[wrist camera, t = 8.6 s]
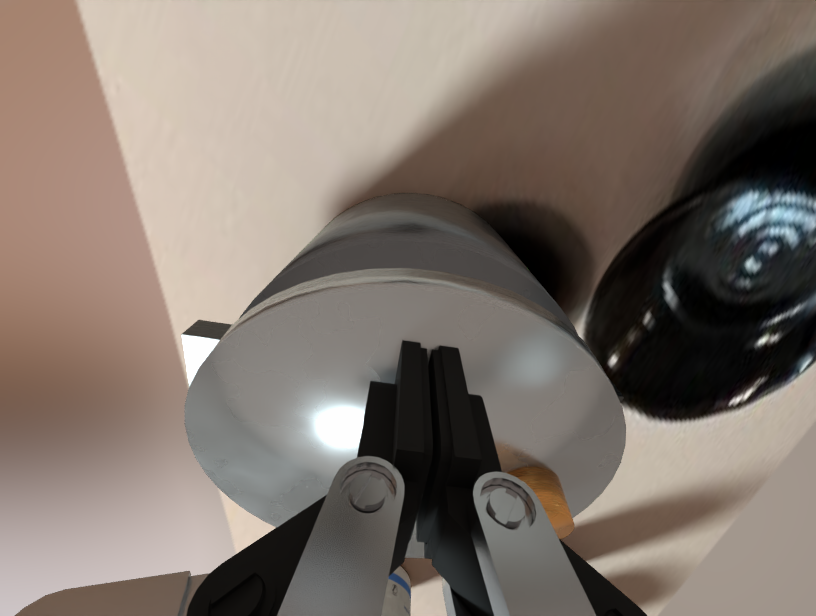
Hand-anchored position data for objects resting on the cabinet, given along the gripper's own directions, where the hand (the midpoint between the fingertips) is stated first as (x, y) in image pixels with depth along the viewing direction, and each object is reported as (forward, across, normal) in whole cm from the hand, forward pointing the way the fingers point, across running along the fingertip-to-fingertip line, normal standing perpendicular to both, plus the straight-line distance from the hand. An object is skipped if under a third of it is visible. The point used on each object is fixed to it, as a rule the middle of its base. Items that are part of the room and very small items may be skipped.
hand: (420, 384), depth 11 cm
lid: (+2, 0, +5) cm, 5 cm away
